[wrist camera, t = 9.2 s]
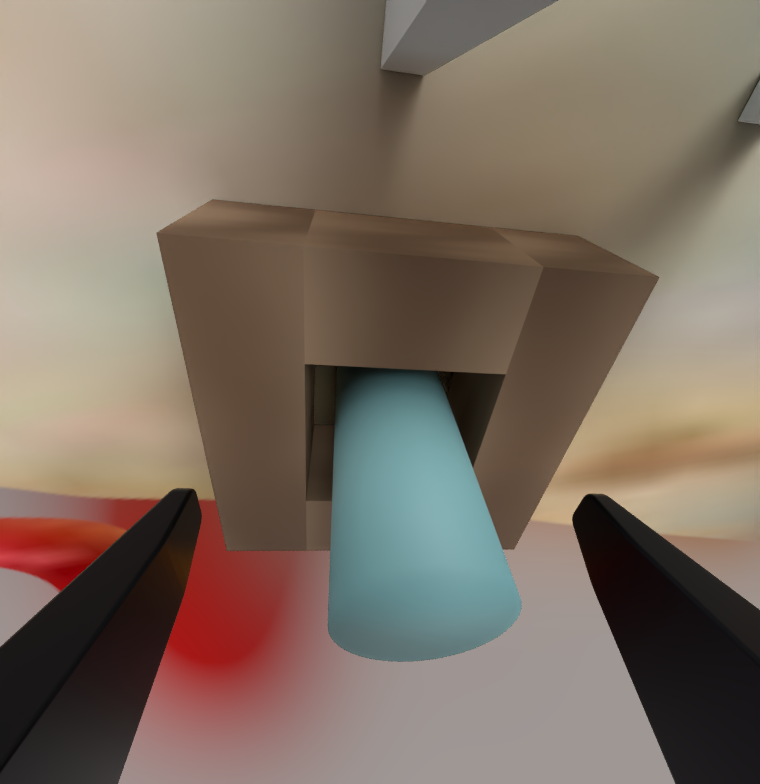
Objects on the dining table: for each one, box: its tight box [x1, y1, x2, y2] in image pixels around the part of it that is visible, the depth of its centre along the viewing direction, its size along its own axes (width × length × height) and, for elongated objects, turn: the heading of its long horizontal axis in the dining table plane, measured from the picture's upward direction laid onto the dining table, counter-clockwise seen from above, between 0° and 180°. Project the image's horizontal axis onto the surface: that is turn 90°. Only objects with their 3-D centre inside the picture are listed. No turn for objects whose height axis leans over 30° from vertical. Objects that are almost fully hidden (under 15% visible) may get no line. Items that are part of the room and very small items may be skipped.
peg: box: [328, 366, 521, 662], centre depth 10 cm, size 3×3×8 cm
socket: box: [157, 200, 659, 551], centre depth 12 cm, size 10×10×4 cm
